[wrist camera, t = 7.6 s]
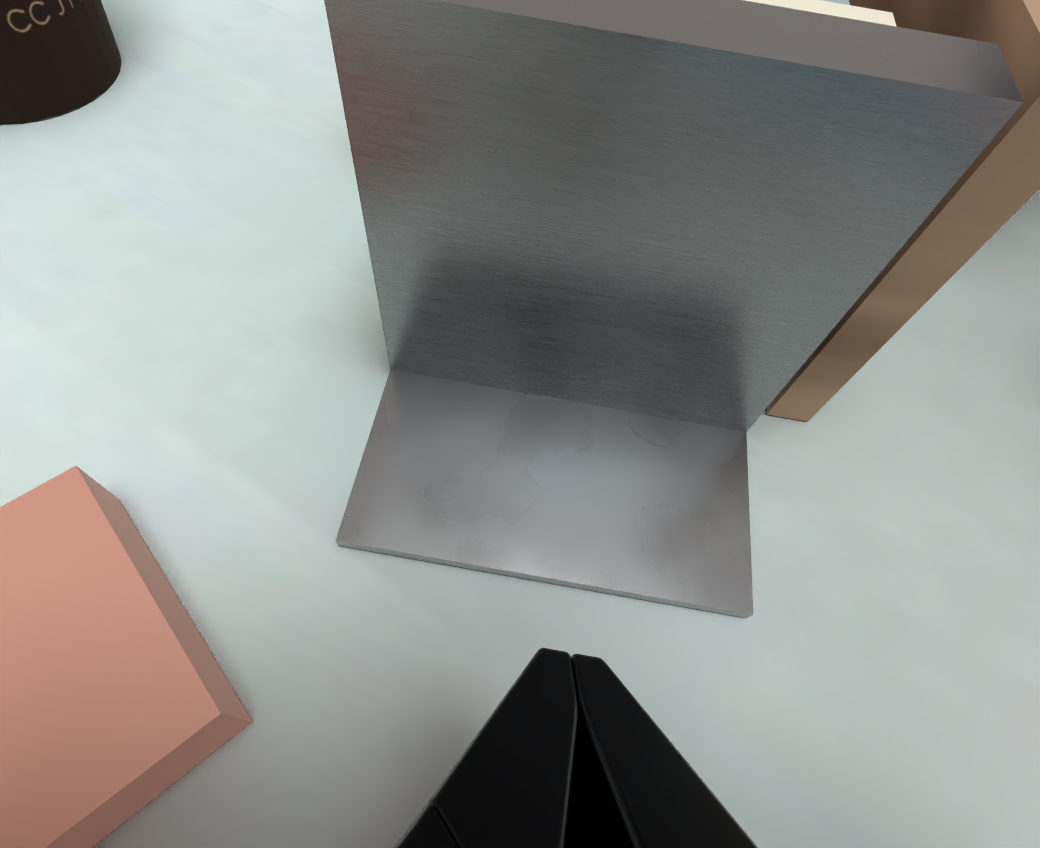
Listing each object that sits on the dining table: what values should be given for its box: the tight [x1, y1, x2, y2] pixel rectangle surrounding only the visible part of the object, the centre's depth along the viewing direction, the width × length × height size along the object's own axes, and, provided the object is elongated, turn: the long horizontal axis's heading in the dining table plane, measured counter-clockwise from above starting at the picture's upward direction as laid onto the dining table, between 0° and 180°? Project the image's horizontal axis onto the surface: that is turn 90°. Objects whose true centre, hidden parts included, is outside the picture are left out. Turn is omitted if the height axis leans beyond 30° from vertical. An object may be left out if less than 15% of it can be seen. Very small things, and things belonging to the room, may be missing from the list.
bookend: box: [324, 0, 1023, 618], centre depth 12 cm, size 6×10×10 cm, turn 81°
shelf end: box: [766, 0, 1040, 422], centre depth 15 cm, size 8×14×10 cm, turn 81°
